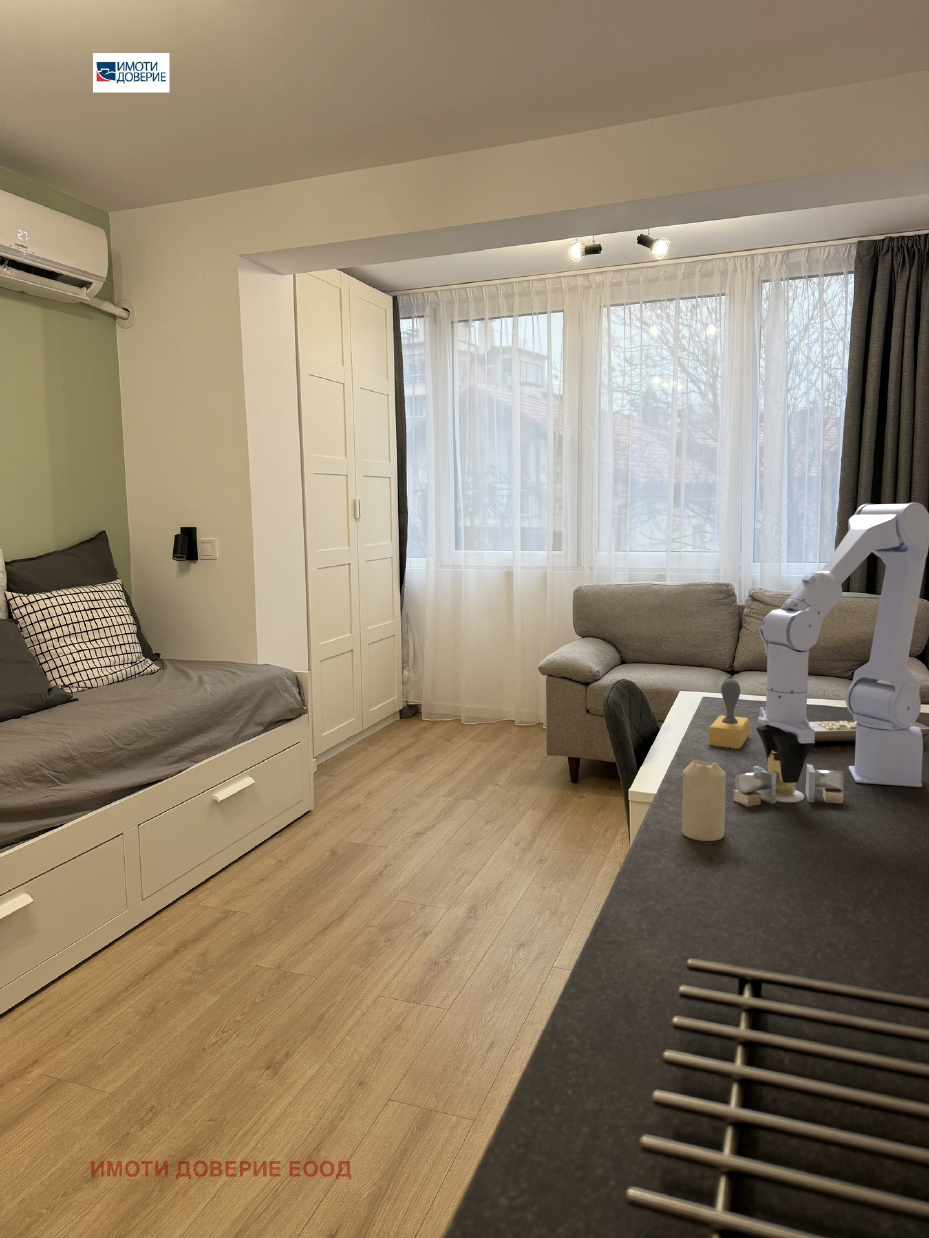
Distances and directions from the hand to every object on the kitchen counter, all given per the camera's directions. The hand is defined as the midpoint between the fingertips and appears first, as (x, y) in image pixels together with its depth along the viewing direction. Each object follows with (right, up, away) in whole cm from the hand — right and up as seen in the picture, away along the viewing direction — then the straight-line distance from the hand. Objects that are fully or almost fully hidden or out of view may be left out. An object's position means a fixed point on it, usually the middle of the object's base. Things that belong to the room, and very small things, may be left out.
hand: (783, 777), depth 126 cm
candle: (-16, -5, -14) cm, 22 cm away
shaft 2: (+6, -3, -1) cm, 6 cm away
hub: (0, -2, 0) cm, 2 cm away
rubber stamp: (+2, +1, +32) cm, 32 cm away
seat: (0, -3, 0) cm, 3 cm away
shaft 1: (-5, -3, -2) cm, 6 cm away
